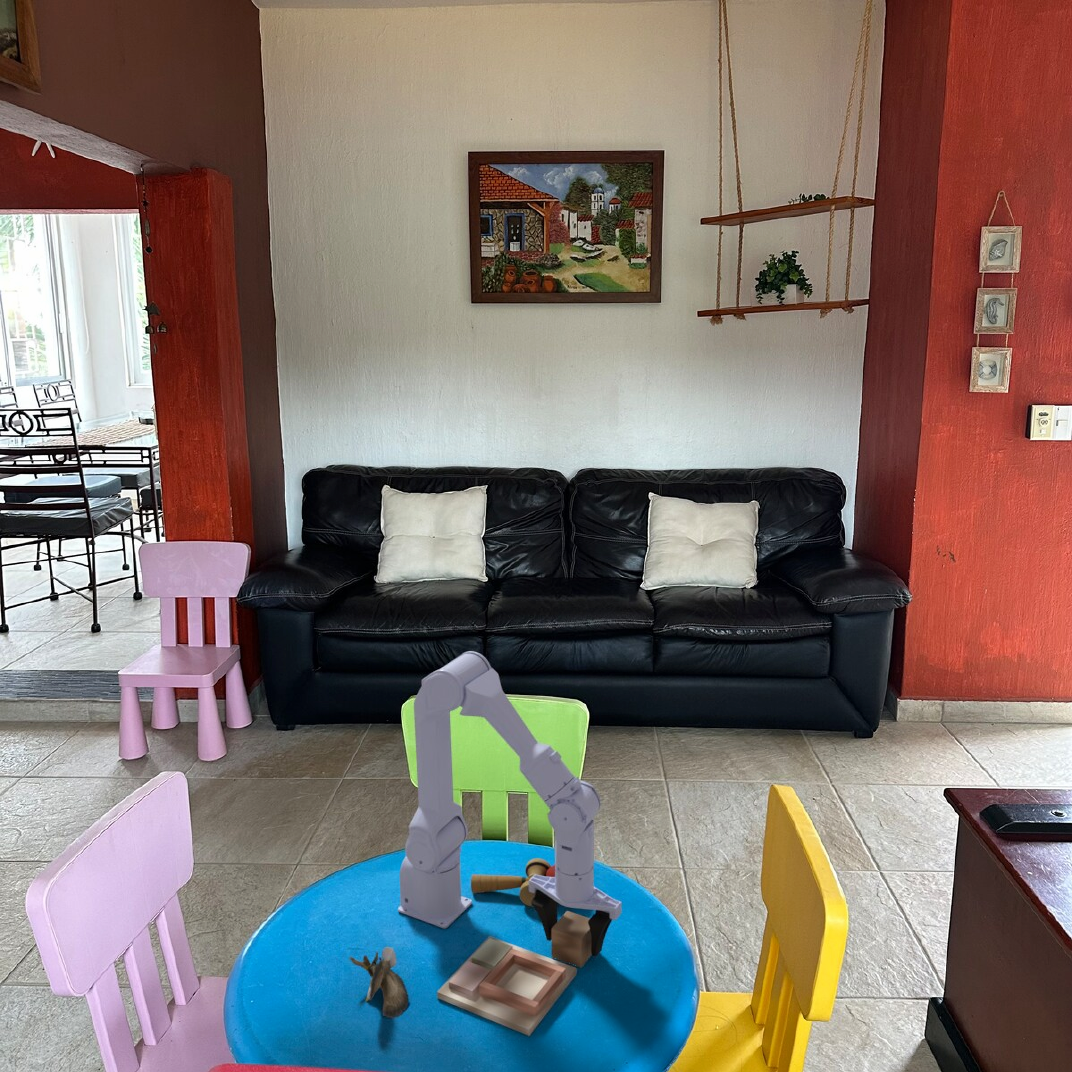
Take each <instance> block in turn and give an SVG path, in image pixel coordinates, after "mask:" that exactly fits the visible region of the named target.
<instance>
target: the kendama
mask: <svg viewBox="0 0 1072 1072" xmlns="http://www.w3.org/2000/svg"><path fill="white" fill-rule="evenodd" d="M525 866H526V867H525V874H526V877H525V876H518V875H517V876H515V875H503V874H502V875H500V874H499V875H498V874H496V875H495V874H494V875H493V874H492V875H491V874H472V875H471V876H470V877H471V878H470V890H471V892H472V894H478V893H479V894H480V893H488V892H497V891H507V890H513V889H514V890H515V889H519V892H518V893H519V894H518V895H519V899H520V900H521V902H522V903H523V904H524V905H526V906H527V907H530V906H532V903H531V901H532V899H533V898H534V897H535V893H532V892H529V880H530V879H531V878H532V877H533V876H534V875H535V874H536V875H540V876H546V877H555V864H553V865H551V864H550V863H549V862H548V861H547V860H545V859H542V858H537V857H536V858H532V859H530V860H529V861H528V862H527V864H526V865H525Z"/></svg>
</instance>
